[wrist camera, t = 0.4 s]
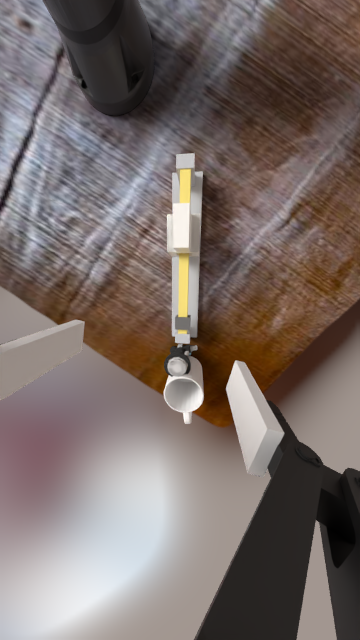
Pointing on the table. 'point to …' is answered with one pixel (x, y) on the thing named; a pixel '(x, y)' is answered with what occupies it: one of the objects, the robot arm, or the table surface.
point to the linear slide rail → (193, 288)
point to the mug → (186, 390)
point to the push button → (179, 360)
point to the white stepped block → (183, 231)
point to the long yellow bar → (184, 262)
